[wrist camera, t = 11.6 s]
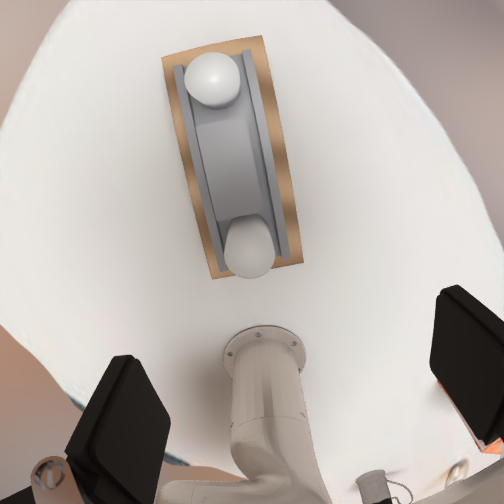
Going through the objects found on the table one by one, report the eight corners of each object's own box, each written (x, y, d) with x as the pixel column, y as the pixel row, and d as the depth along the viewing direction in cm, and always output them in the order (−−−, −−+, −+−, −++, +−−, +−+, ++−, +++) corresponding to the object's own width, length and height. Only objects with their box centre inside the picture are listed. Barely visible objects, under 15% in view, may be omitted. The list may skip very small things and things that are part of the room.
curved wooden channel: (294, 240, 40) (303, 262, 33) (217, 255, 40) (212, 279, 34) (258, 52, 31) (261, 35, 24) (176, 70, 32) (161, 57, 25)
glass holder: (356, 475, 64) (367, 518, 50) (404, 460, 63) (419, 501, 49) (354, 486, 67) (364, 526, 53) (399, 472, 66) (412, 510, 52)
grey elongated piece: (287, 248, 32) (300, 286, 25) (221, 261, 33) (214, 302, 25) (250, 56, 25) (251, 28, 17) (178, 72, 26) (154, 50, 18)
